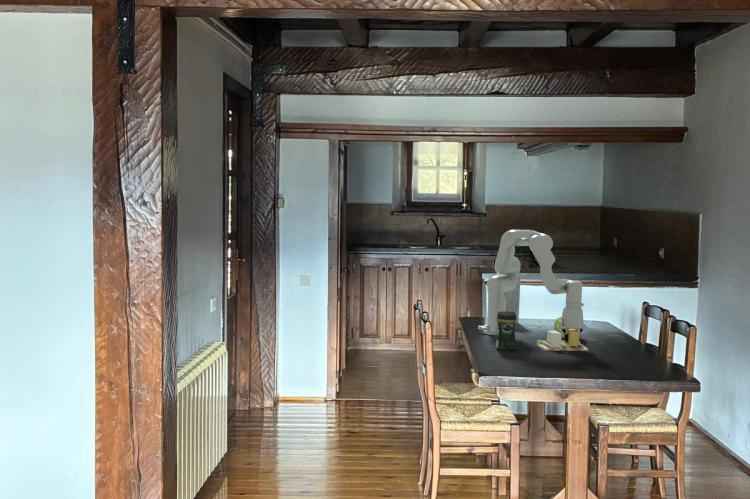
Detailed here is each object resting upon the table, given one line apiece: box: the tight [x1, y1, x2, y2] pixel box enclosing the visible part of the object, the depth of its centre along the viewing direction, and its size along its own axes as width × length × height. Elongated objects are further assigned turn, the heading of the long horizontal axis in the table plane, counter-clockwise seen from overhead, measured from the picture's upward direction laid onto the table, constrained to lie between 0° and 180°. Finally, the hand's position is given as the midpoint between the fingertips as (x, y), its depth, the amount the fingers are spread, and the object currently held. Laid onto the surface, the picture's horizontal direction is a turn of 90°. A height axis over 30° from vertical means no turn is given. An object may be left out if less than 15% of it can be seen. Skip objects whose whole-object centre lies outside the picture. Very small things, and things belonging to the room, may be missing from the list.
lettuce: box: [553, 316, 576, 339], centre depth 405 cm, size 13×22×14 cm
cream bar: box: [546, 330, 563, 347], centre depth 380 cm, size 8×4×7 cm, turn 7°
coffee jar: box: [495, 311, 517, 351], centre depth 374 cm, size 10×8×19 cm
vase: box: [504, 276, 522, 325], centre depth 450 cm, size 10×10×27 cm
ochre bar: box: [563, 329, 580, 346], centre depth 380 cm, size 8×4×7 cm, turn 6°
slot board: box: [536, 340, 589, 352], centre depth 381 cm, size 22×12×2 cm, turn 96°
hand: (571, 341), depth 381 cm, fingers closed on ochre bar, 4 cm apart
